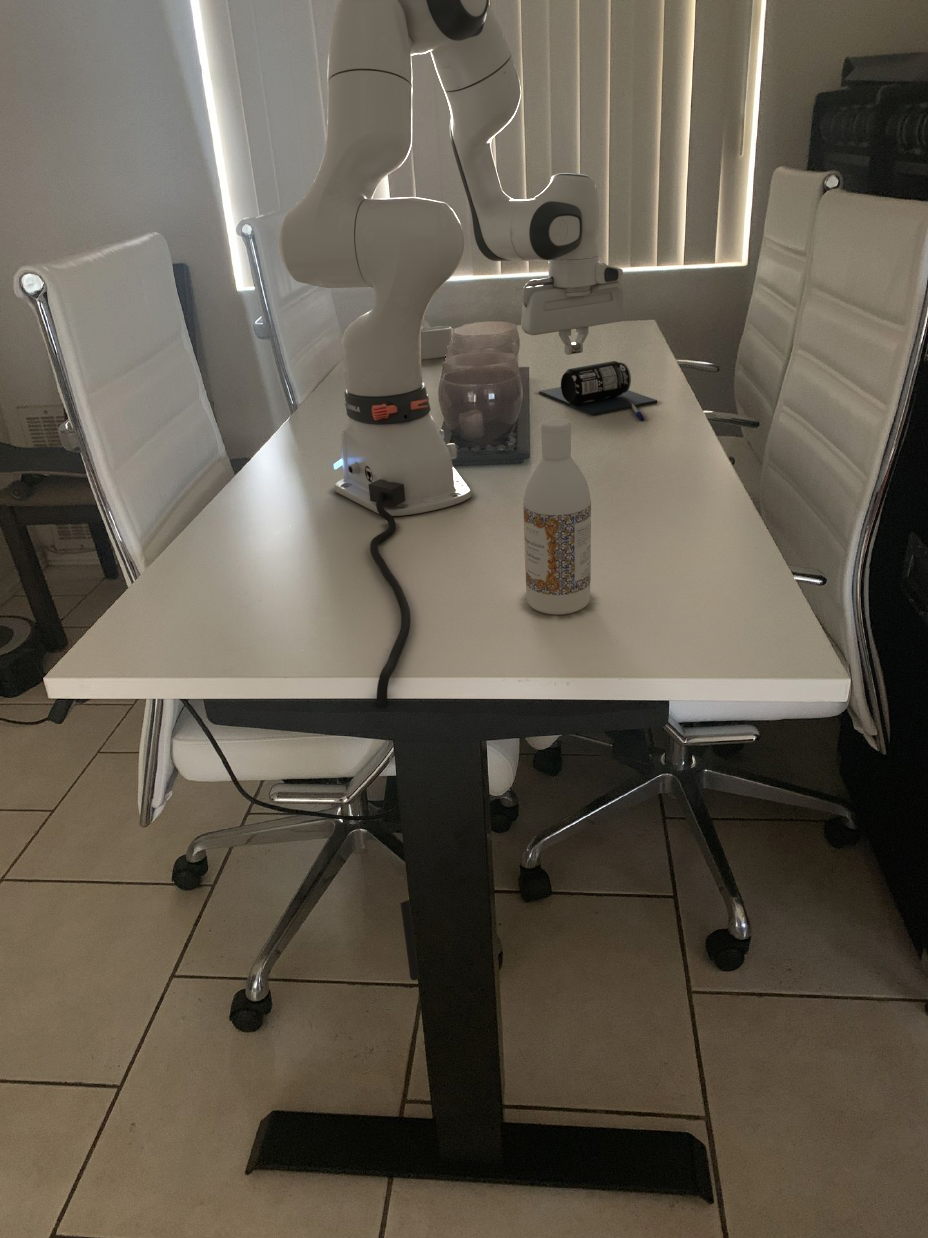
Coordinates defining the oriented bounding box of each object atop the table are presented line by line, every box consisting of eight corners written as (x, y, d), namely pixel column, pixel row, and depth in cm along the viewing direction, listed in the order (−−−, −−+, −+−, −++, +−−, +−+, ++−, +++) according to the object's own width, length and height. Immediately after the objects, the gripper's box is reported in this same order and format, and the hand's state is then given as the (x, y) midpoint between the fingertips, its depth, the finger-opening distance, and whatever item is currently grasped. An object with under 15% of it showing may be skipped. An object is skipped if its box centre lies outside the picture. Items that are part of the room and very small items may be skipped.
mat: (657, 402, 165) (657, 400, 164) (592, 415, 160) (592, 412, 160) (599, 382, 181) (599, 379, 181) (539, 393, 176) (539, 390, 176)
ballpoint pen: (645, 421, 155) (646, 415, 155) (640, 421, 155) (641, 415, 155) (632, 405, 165) (632, 400, 164) (627, 406, 164) (628, 400, 164)
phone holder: (456, 355, 212) (451, 275, 203) (415, 360, 210) (408, 280, 201) (439, 342, 227) (433, 267, 218) (400, 347, 225) (393, 271, 216)
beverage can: (556, 393, 168) (609, 383, 172) (574, 412, 164) (627, 401, 168) (562, 362, 163) (616, 353, 167) (580, 381, 159) (635, 370, 164)
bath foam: (513, 600, 98) (506, 422, 88) (562, 581, 101) (560, 408, 92) (554, 623, 93) (550, 436, 83) (603, 603, 96) (606, 421, 86)
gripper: (530, 282, 152) (532, 364, 158) (630, 269, 159) (628, 348, 165) (513, 279, 157) (516, 358, 163) (611, 266, 164) (610, 342, 170)
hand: (573, 353), depth 164 cm, fingers closed
